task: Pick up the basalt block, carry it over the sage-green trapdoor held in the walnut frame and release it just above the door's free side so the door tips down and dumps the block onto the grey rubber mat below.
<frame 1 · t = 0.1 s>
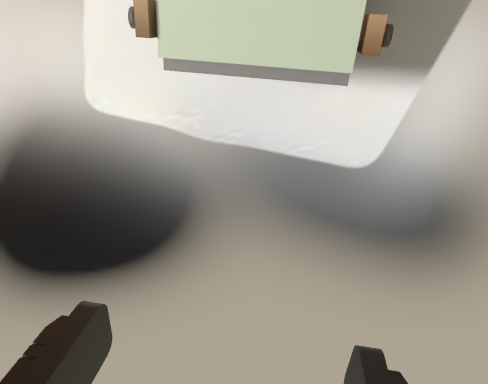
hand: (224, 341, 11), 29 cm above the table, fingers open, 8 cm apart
frame: (267, 25, 33), on the table
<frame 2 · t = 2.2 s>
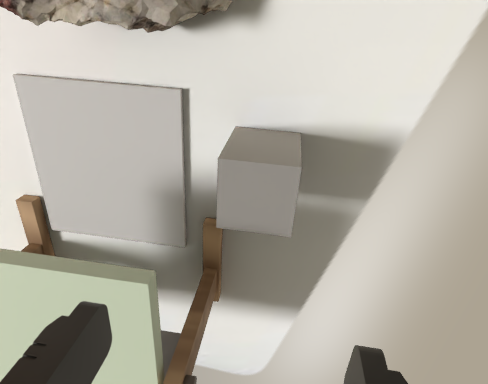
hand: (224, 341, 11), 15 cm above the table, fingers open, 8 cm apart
trapdoor: (63, 314, 22), point 9 cm above the table, hinge at 0.0°
mat: (109, 167, 26), on the table
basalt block: (265, 159, 24), on the table
frame: (127, 259, 30), on the table
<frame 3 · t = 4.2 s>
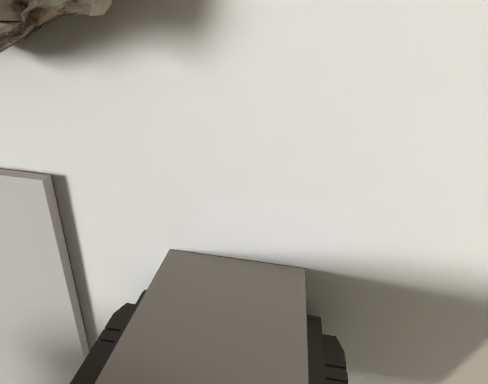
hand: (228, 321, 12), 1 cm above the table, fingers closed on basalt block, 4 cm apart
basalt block: (232, 308, 12), on the table, touching gripper
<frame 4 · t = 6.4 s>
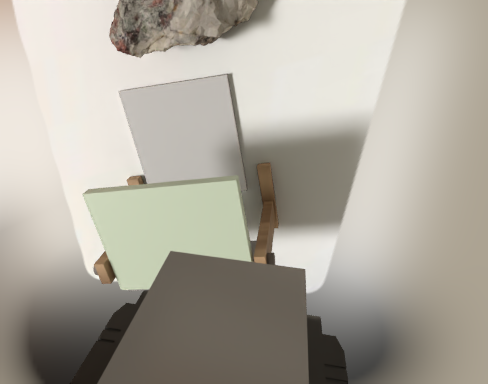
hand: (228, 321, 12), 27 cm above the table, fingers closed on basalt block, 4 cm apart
trapdoor: (180, 232, 33), point 9 cm above the table, hinge at 0.0°
mat: (186, 141, 38), on the table
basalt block: (233, 309, 12), point 27 cm above the table, touching gripper
mineral rock: (194, 2, 32), on the table
frame: (207, 210, 42), on the table
when the fingers open (13 cm above the table, at t = 8.9 s): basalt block drops 2 cm, resting on trapdoor.
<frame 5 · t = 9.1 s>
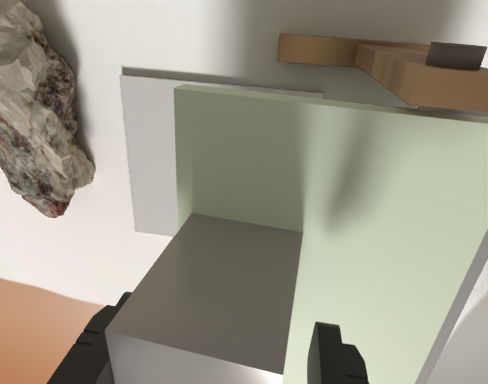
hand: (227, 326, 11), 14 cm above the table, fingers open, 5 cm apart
trapdoor: (319, 248, 16), point 8 cm above the table, hinge at -5.0°, touching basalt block
mat: (217, 170, 24), on the table
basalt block: (242, 267, 14), point 11 cm above the table, touching gripper, trapdoor
mineral rock: (40, 96, 24), on the table
frame: (347, 178, 23), on the table
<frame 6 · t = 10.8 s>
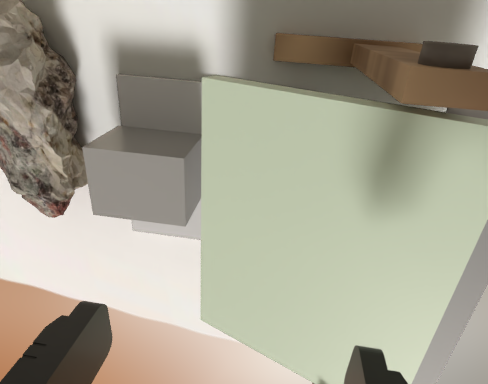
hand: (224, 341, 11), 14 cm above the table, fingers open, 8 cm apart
trapdoor: (329, 240, 16), point 8 cm above the table, hinge at -23.0°
mat: (214, 169, 24), on the table
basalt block: (195, 178, 22), point 3 cm above the table, tilted 90°, touching mat
mineral rock: (40, 96, 24), on the table
frame: (343, 177, 23), on the table
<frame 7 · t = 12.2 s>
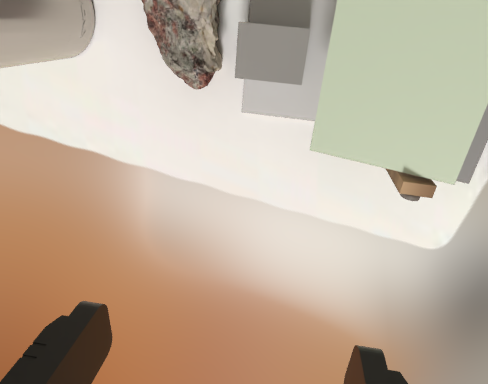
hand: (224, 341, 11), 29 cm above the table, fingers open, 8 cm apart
trapdoor: (412, 71, 25), point 8 cm above the table, hinge at -18.2°
mat: (312, 58, 33), on the table
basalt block: (305, 55, 31), point 3 cm above the table, tilted 90°, touching mat
mineral rock: (189, 2, 33), on the table
frame: (408, 62, 32), on the table
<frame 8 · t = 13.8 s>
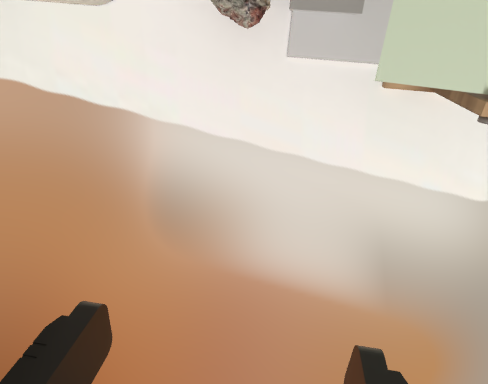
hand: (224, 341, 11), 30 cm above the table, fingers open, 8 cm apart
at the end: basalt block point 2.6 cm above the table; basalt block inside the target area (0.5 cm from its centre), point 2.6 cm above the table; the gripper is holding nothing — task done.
